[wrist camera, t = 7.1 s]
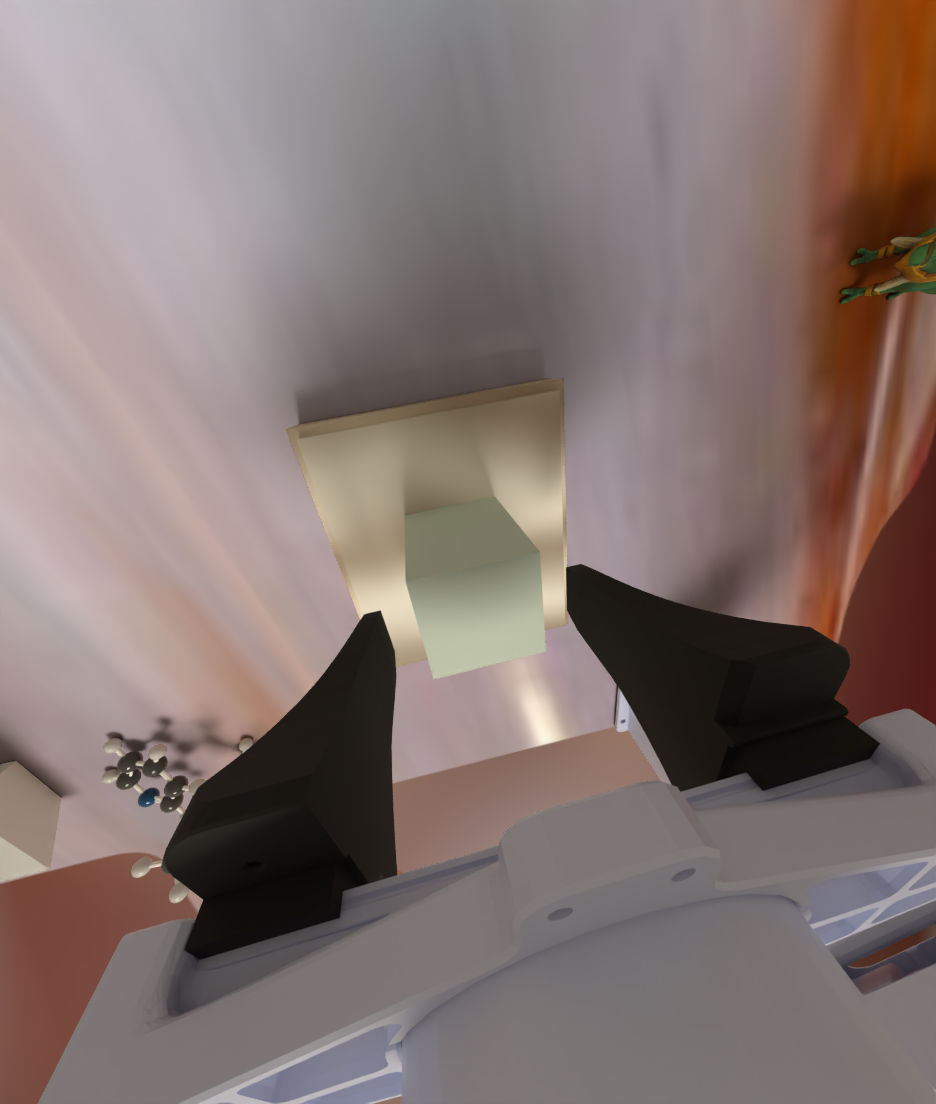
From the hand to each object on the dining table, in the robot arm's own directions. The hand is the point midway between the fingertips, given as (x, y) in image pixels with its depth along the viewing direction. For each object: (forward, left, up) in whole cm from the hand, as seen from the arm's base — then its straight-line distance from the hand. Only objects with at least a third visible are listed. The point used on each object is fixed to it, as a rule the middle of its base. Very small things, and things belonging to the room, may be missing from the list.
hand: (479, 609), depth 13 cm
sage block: (0, 0, -5) cm, 5 cm away
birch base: (0, 0, -7) cm, 7 cm away
